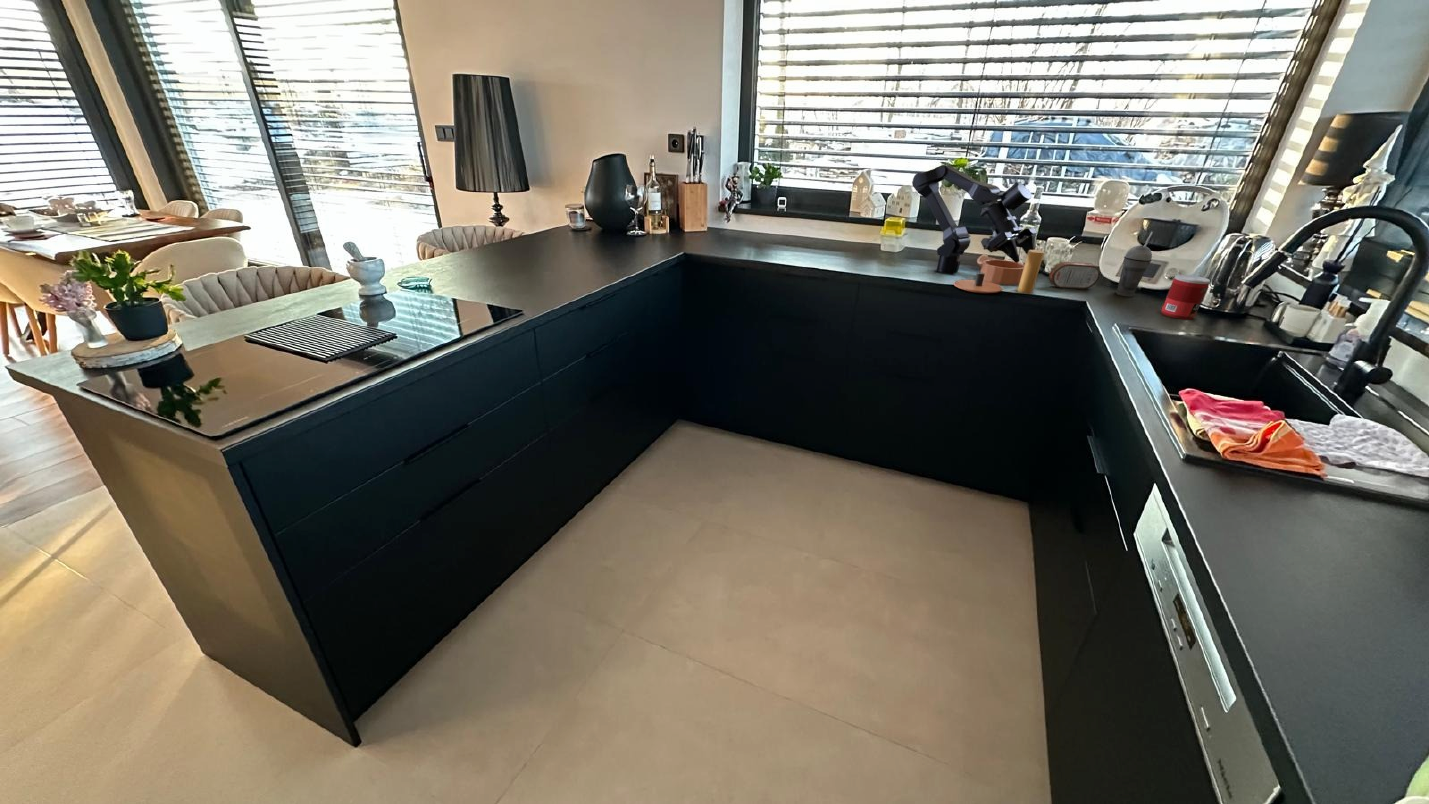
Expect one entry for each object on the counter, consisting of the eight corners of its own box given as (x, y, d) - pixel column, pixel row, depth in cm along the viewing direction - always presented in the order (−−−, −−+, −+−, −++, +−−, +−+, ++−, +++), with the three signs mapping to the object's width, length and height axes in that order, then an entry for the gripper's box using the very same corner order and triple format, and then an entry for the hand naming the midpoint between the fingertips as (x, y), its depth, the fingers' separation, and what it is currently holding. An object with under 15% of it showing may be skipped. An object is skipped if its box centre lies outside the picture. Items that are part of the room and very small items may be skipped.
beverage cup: (1114, 290, 185) (1136, 228, 176) (1140, 294, 180) (1164, 231, 171) (1108, 294, 180) (1131, 230, 171) (1135, 299, 176) (1159, 234, 167)
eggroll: (1016, 291, 180) (1027, 251, 174) (1019, 289, 183) (1030, 249, 177) (1030, 294, 178) (1042, 253, 172) (1033, 291, 181) (1045, 251, 175)
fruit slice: (1000, 272, 204) (1003, 258, 202) (982, 271, 203) (986, 258, 201) (988, 266, 211) (992, 253, 209) (971, 266, 211) (974, 253, 208)
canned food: (1195, 321, 157) (1212, 283, 152) (1161, 316, 160) (1176, 278, 155) (1192, 314, 162) (1208, 277, 157) (1159, 309, 166) (1173, 273, 161)
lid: (947, 289, 181) (951, 273, 179) (960, 280, 192) (964, 265, 189) (995, 297, 174) (999, 281, 171) (1006, 288, 184) (1010, 272, 182)
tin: (1091, 287, 187) (1100, 262, 183) (1096, 290, 184) (1105, 264, 180) (1045, 285, 188) (1052, 260, 184) (1049, 288, 185) (1057, 262, 181)
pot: (974, 280, 193) (978, 264, 190) (984, 272, 202) (988, 257, 200) (1017, 287, 185) (1021, 270, 183) (1025, 279, 195) (1030, 263, 192)
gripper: (997, 232, 193) (1019, 270, 190) (965, 237, 183) (988, 277, 180) (1025, 211, 183) (1049, 251, 180) (993, 215, 174) (1018, 258, 171)
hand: (1025, 260), depth 178 cm, fingers open, 9 cm apart
